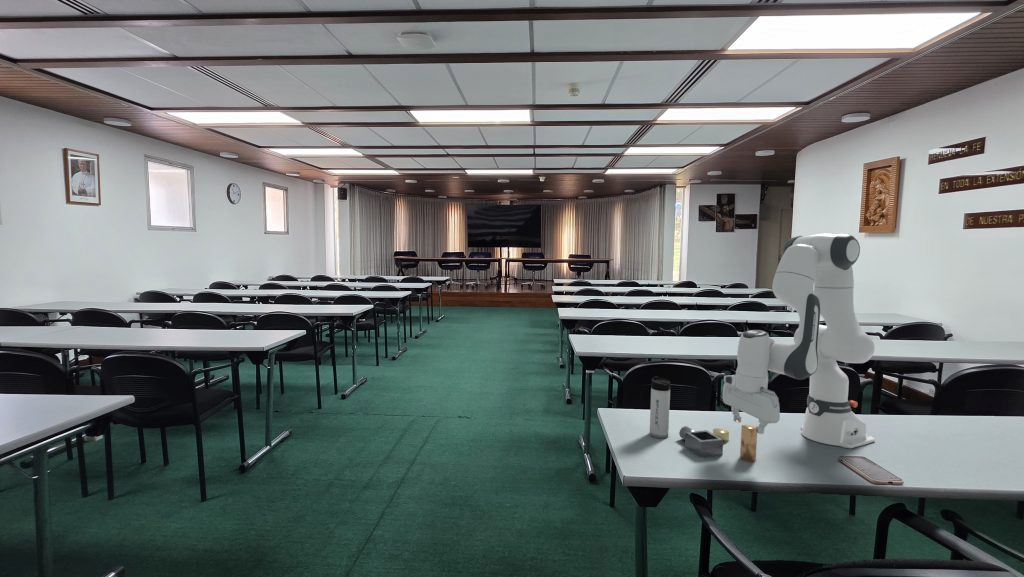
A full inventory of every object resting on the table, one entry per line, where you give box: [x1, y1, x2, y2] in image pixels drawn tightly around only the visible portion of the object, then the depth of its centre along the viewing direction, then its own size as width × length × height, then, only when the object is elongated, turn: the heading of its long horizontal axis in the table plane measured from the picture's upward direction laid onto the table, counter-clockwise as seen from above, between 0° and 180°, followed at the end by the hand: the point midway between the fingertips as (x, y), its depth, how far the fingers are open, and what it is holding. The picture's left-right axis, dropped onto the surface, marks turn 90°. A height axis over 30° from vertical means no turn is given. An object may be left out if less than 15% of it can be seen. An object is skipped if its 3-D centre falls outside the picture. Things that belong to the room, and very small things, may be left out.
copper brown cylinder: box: [739, 424, 758, 463], centre depth 145 cm, size 4×4×10 cm
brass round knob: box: [712, 428, 730, 443], centre depth 160 cm, size 5×5×3 cm
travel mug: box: [649, 376, 671, 439], centre depth 163 cm, size 6×7×20 cm
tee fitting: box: [678, 425, 724, 458], centre depth 153 cm, size 8×14×5 cm, turn 14°
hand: (748, 427), depth 144 cm, fingers open, 8 cm apart
